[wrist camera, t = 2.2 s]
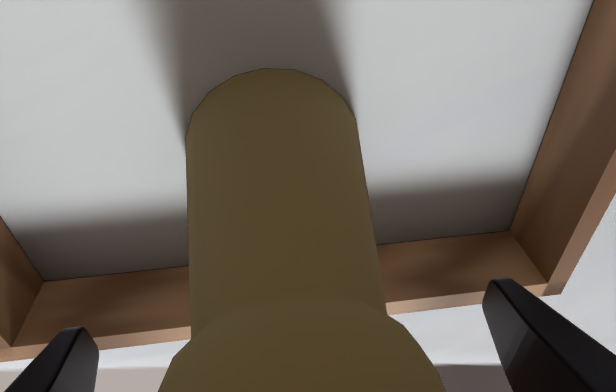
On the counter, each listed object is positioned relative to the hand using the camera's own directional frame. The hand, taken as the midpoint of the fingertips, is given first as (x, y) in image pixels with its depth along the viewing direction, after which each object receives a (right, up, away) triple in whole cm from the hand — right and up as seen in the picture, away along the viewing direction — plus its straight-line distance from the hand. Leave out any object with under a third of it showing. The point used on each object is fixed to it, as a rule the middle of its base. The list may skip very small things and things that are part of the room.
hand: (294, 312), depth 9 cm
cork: (-1, +4, +5) cm, 7 cm away
